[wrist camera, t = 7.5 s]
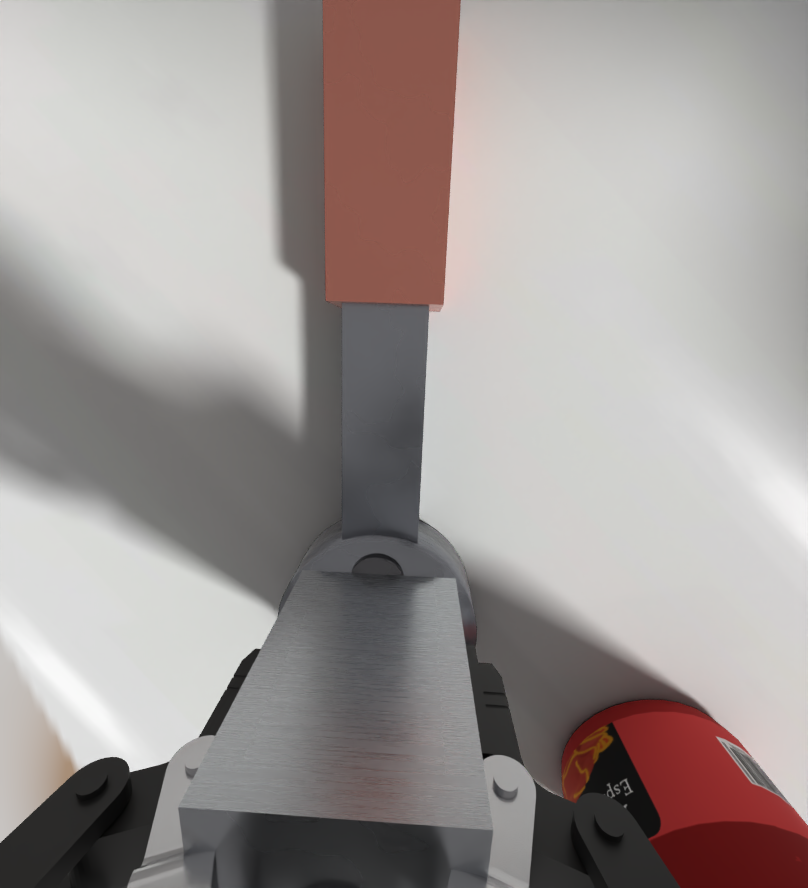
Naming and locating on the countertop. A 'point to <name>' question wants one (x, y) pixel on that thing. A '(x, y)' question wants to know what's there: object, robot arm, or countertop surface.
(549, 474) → the countertop surface
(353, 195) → the ratchet
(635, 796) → the canned food
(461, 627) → the metal block with hole
